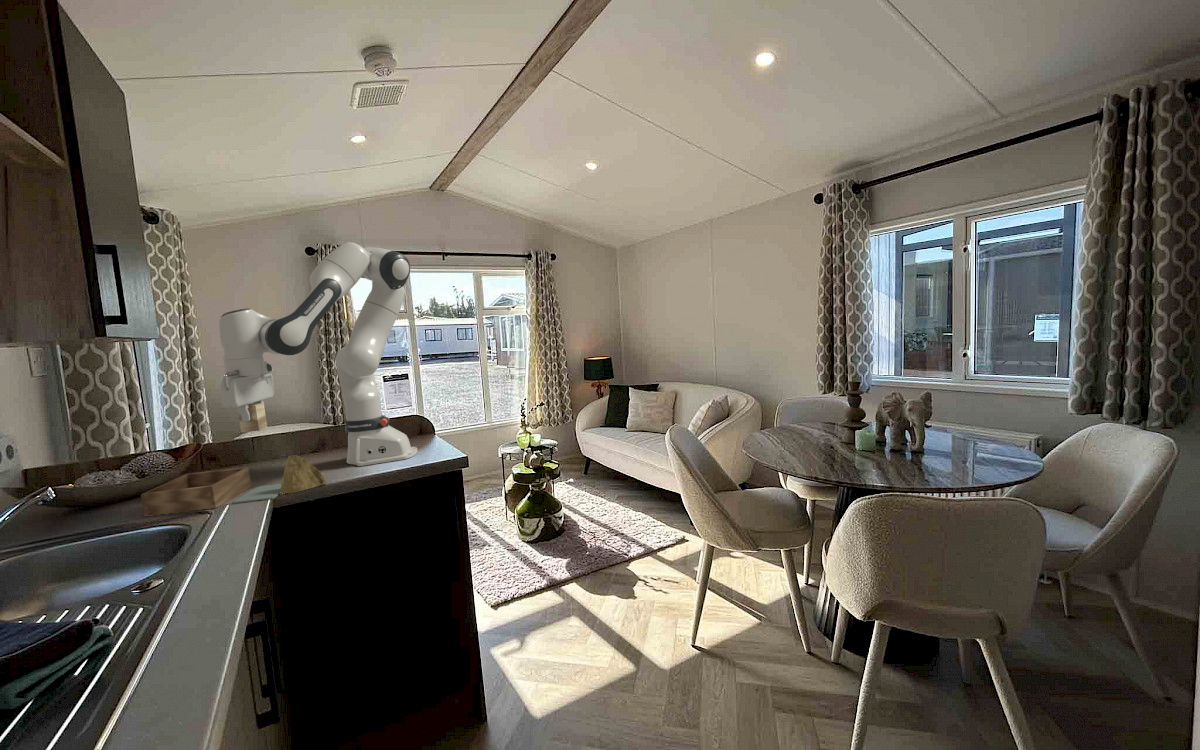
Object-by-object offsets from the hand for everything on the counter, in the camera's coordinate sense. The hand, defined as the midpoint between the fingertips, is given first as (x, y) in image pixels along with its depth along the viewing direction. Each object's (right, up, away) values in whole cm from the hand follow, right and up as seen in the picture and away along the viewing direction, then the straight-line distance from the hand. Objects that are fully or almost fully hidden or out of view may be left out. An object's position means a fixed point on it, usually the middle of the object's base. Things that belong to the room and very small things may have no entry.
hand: (253, 418), depth 138 cm
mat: (+2, -21, +2) cm, 21 cm away
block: (0, -3, 0) cm, 3 cm away
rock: (+12, -20, +4) cm, 24 cm away
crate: (-14, -23, 0) cm, 27 cm away
